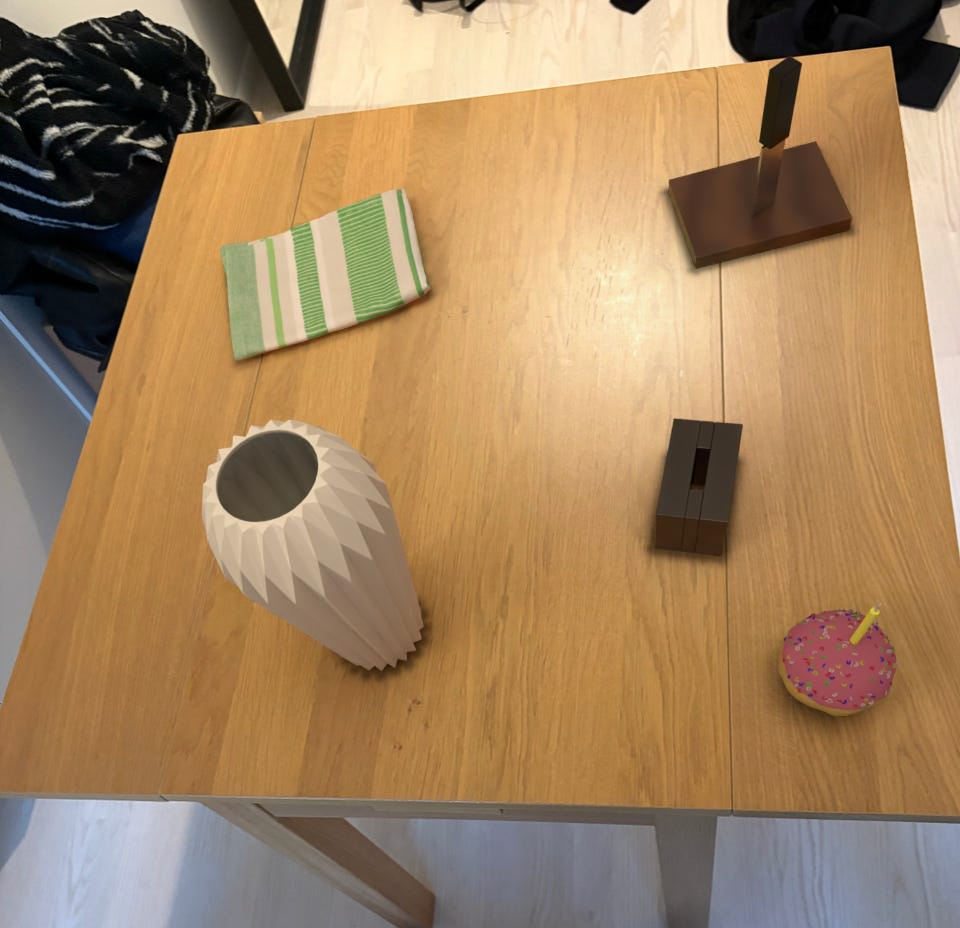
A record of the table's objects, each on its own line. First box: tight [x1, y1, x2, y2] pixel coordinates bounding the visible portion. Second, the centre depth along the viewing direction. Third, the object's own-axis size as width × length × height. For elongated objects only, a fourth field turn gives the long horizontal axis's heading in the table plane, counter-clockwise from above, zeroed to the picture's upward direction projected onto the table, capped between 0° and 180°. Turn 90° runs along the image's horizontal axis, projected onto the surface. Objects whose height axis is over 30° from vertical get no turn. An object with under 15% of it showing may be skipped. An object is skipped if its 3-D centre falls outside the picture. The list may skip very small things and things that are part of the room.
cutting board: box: [667, 140, 853, 269], centre depth 88 cm, size 16×12×2 cm
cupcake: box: [777, 602, 899, 717], centre depth 63 cm, size 9×8×12 cm
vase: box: [201, 418, 425, 672], centre depth 65 cm, size 13×13×26 cm
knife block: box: [654, 418, 744, 556], centre depth 74 cm, size 6×10×6 cm, turn 167°
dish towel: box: [220, 188, 432, 362], centre depth 95 cm, size 18×23×3 cm
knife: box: [751, 55, 803, 219], centre depth 79 cm, size 2×3×15 cm, turn 126°
